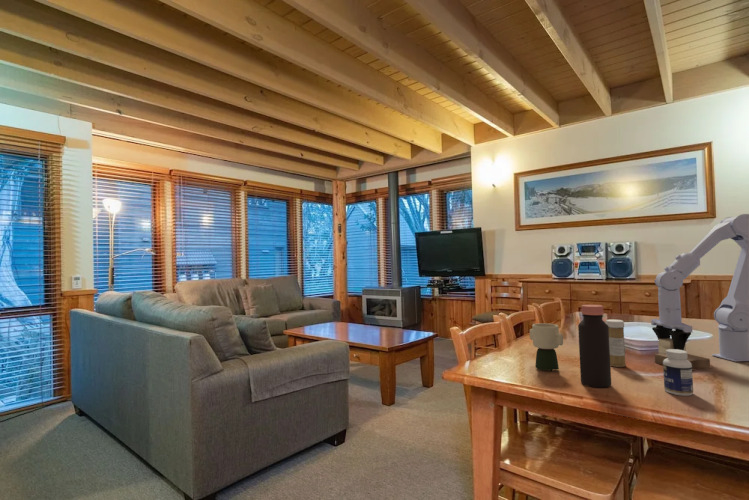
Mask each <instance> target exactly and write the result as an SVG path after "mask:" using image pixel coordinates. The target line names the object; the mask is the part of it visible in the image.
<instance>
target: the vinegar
mask: <svg viewBox="0 0 749 500" xmlns="http://www.w3.org/2000/svg"><path fill="white" fill-rule="evenodd" d="M604 313H605V312H604V306H603V305H601V304H582V305H581V316H582V317H583V319H582V320H581V321H580V322H579V323H578V327H577V328H578V330H577V331H578V349H579V350H578V352H579V368H580V369H579V373H580V375H579V376H580V383H581V384H583V385H584V386H587V387H592V388H598V389H607V388H609V387H611V385H612V373H611V370H612V369H611V368H612V367H611V366H610V347H609V327H608V325H607V324H606V321H604V320H603V317H604Z"/></svg>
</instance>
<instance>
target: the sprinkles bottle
mask: <svg viewBox="0 0 749 500" xmlns="http://www.w3.org/2000/svg"><path fill="white" fill-rule="evenodd" d="M605 323H606V324H607V325H608V327H609V347H610V367H611V366H612V367H615V368H624V367H626V365H627V364H626V346H625V345H626V344H625V332H624V331H625V329H624V328H625V321H624V320H622V319H616V318H615V319H606V320H605Z"/></svg>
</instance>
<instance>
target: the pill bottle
mask: <svg viewBox="0 0 749 500" xmlns="http://www.w3.org/2000/svg"><path fill="white" fill-rule="evenodd" d="M687 354H688V352H687V350H686V351H684V350H678V349H667V350H666V356H667V357H668V358H666V359H664V361H663V365H662V366H663V367H662V369H663V385H664V386H663V388H664V391H665V392H667V393H669V394H671V395H675V396H681V397H683V396H684V397H690V396H692V395H694V382H693V381H694V380H693V370H692V364H691V363H690V362H689V361H688V360H686V359H687V357H688V356H687Z"/></svg>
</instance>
